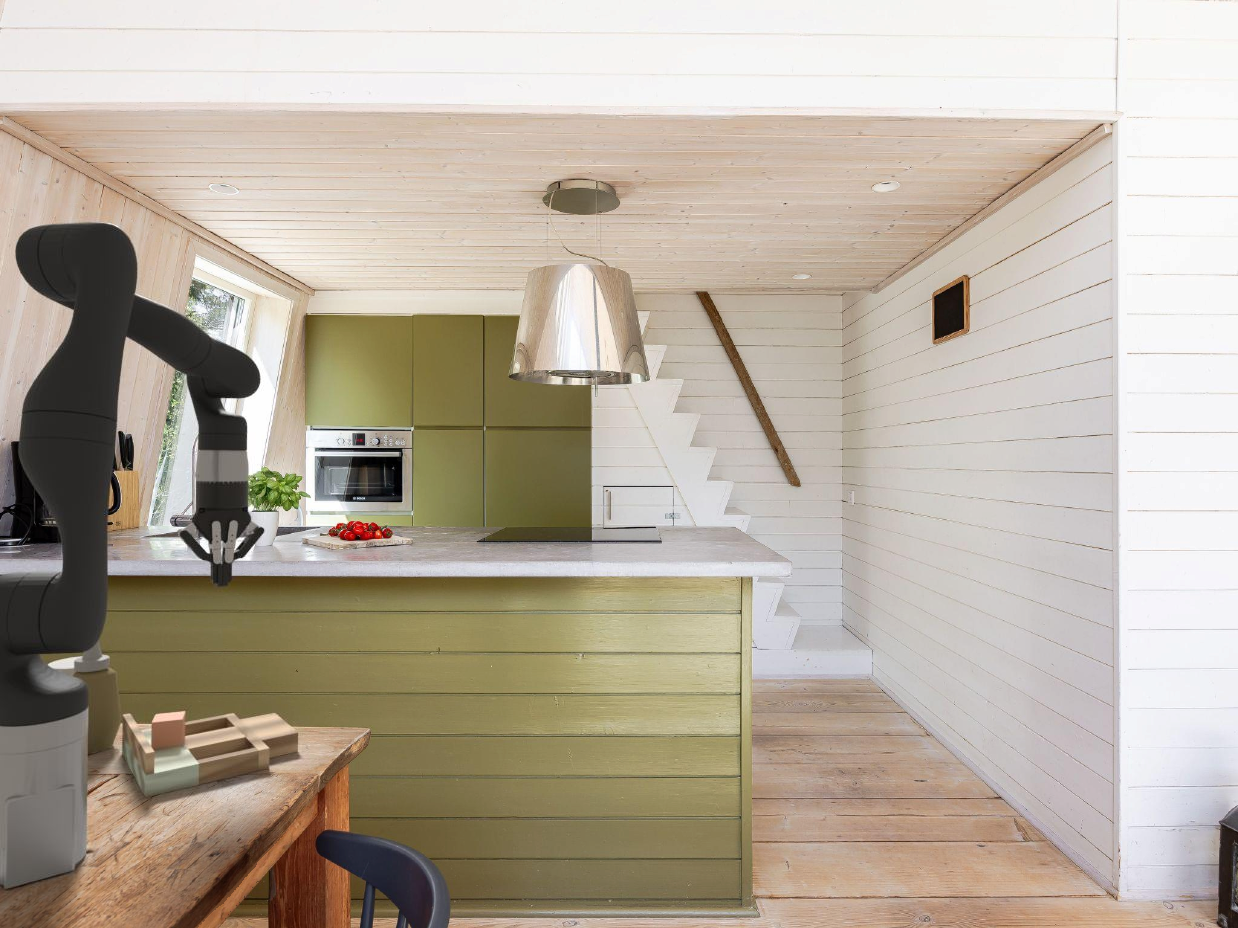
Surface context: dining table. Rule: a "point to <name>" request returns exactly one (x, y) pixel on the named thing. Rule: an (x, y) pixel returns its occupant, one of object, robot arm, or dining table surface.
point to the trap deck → (206, 751)
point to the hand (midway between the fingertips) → (221, 585)
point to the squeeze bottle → (99, 698)
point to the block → (168, 730)
